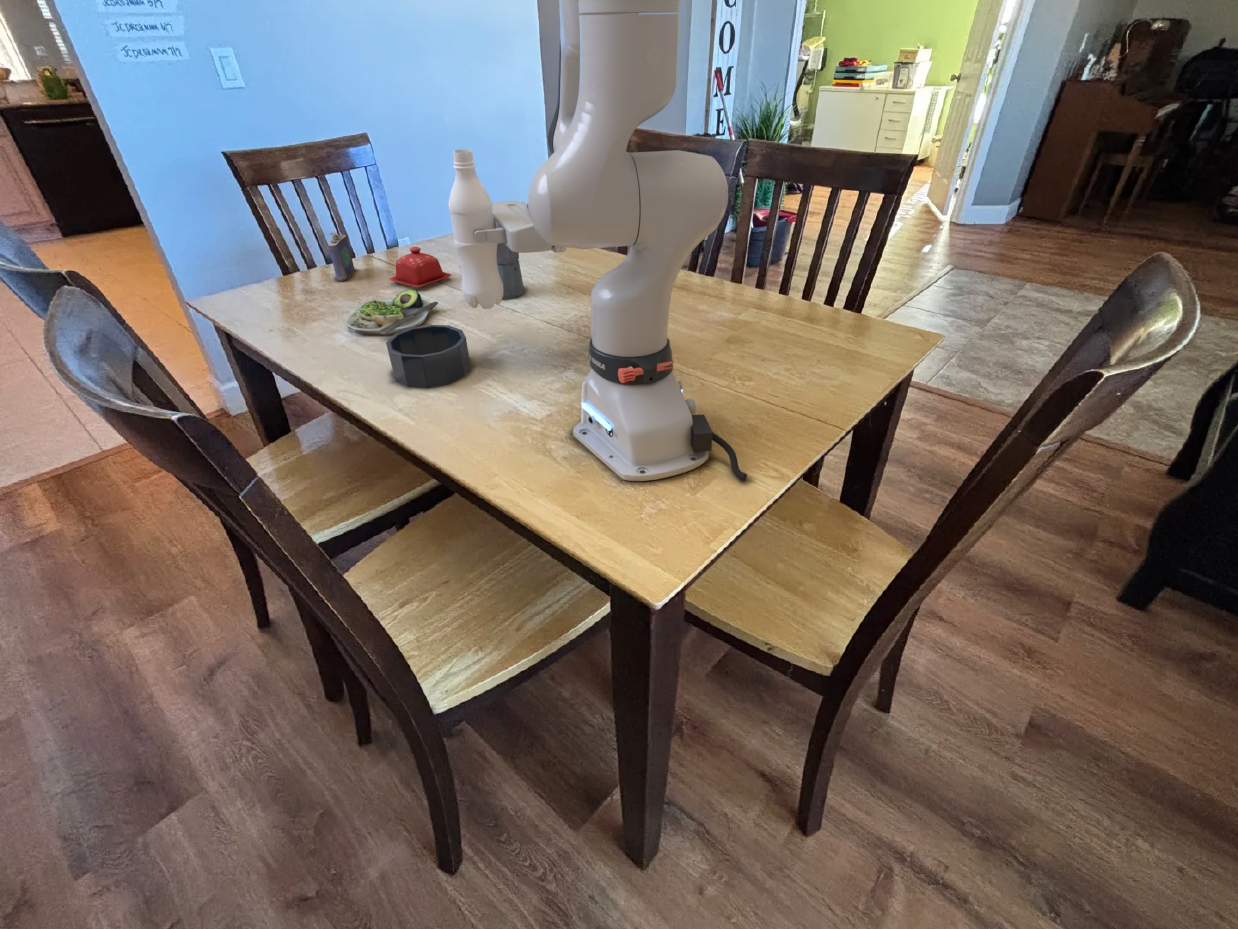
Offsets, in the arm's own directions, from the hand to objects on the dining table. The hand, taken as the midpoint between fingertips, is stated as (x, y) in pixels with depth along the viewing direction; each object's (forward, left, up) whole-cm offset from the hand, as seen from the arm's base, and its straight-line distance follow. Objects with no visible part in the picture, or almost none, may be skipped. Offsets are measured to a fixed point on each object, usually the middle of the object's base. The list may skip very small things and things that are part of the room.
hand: (469, 230), depth 105 cm
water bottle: (0, -1, -13) cm, 13 cm away
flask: (+63, +22, -24) cm, 71 cm away
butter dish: (+50, +5, -24) cm, 56 cm away
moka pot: (+34, -12, -24) cm, 43 cm away
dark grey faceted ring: (0, +10, -24) cm, 26 cm away
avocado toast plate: (+28, +14, -24) cm, 40 cm away
